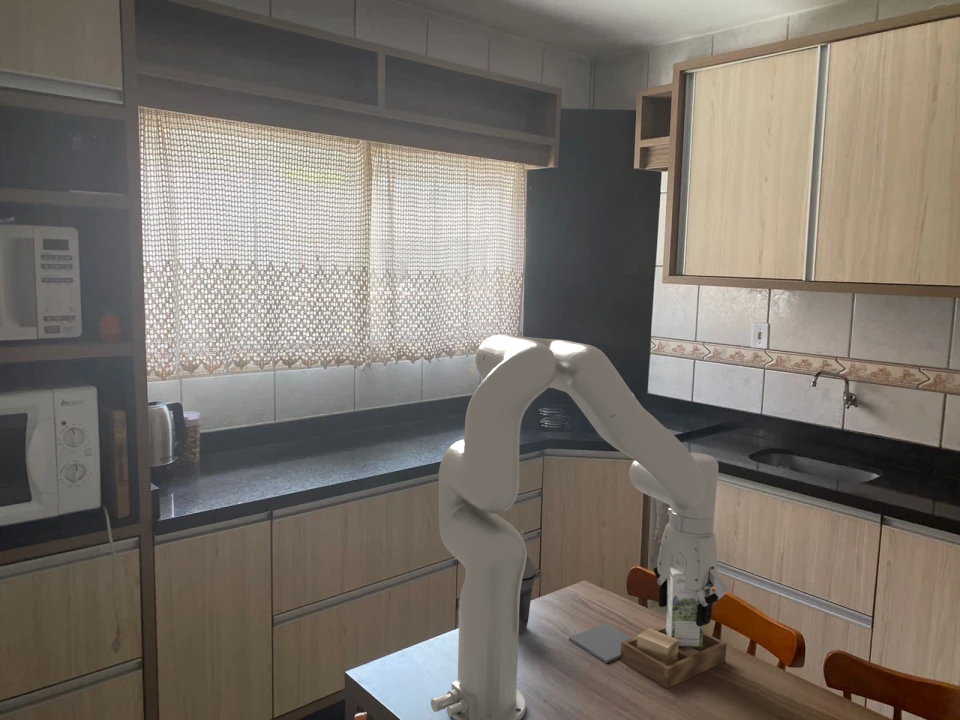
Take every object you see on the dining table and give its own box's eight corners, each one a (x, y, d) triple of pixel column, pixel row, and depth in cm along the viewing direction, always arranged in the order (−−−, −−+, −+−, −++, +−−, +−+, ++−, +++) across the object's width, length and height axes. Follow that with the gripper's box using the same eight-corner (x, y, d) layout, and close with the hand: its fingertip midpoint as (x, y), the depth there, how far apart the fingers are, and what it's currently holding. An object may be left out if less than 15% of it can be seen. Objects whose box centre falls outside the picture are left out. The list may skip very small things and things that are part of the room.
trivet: (606, 663, 134) (606, 660, 134) (568, 639, 142) (569, 637, 142) (644, 648, 140) (644, 645, 140) (606, 626, 148) (606, 623, 148)
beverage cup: (489, 627, 146) (491, 530, 143) (515, 616, 151) (518, 521, 148) (515, 642, 141) (518, 541, 138) (541, 630, 145) (545, 532, 143)
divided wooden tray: (666, 688, 126) (667, 669, 126) (620, 660, 135) (621, 642, 135) (725, 661, 136) (726, 643, 135) (678, 636, 144) (679, 619, 144)
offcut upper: (666, 664, 129) (667, 648, 129) (636, 651, 133) (637, 635, 133) (677, 655, 132) (678, 639, 131) (648, 643, 136) (649, 628, 136)
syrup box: (696, 631, 139) (698, 559, 137) (703, 649, 134) (705, 573, 131) (665, 631, 140) (666, 558, 137) (670, 648, 134) (672, 572, 132)
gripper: (641, 511, 138) (634, 600, 141) (719, 541, 124) (710, 640, 127) (667, 505, 143) (660, 592, 145) (746, 534, 129) (737, 629, 131)
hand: (683, 614), depth 136 cm, fingers closed on syrup box, 8 cm apart
